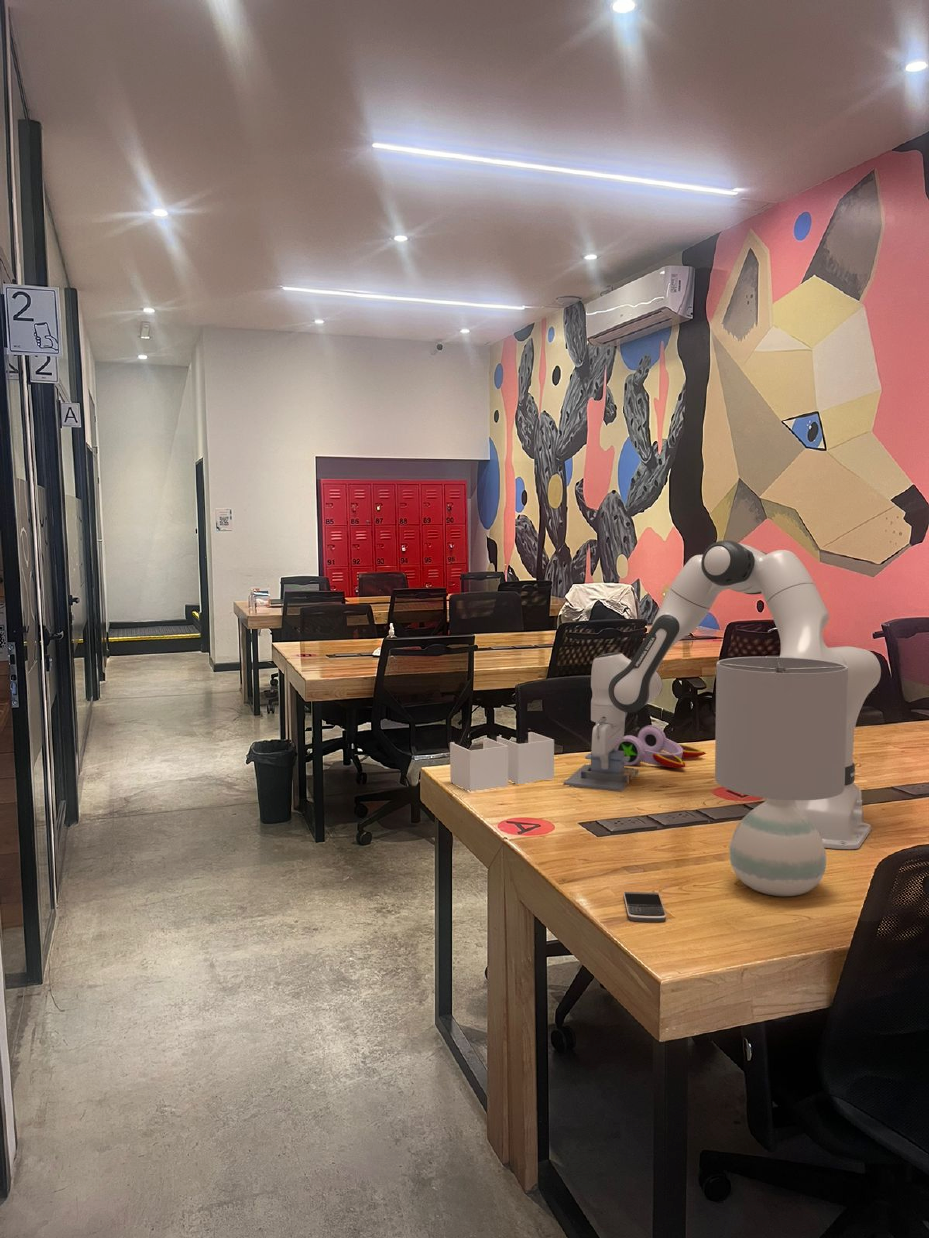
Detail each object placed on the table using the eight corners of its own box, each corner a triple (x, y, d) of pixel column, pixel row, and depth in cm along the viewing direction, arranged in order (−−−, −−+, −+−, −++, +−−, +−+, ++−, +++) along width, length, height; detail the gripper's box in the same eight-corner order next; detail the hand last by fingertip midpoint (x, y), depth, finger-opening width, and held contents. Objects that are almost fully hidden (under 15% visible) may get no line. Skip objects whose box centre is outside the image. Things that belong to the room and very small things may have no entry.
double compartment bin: (470, 794, 219) (470, 751, 218) (450, 783, 228) (450, 742, 227) (554, 780, 230) (554, 739, 229) (531, 771, 240) (531, 731, 239)
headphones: (639, 724, 262) (704, 723, 251) (642, 757, 263) (708, 757, 251) (611, 736, 246) (680, 736, 235) (615, 771, 246) (684, 772, 235)
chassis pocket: (621, 791, 219) (621, 781, 219) (563, 785, 225) (563, 775, 224) (638, 772, 237) (638, 763, 237) (584, 767, 243) (584, 758, 243)
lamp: (832, 870, 165) (838, 658, 161) (850, 918, 144) (857, 675, 140) (713, 860, 170) (716, 655, 167) (713, 905, 150) (717, 671, 146)
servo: (632, 778, 225) (632, 752, 225) (585, 773, 230) (585, 748, 230) (635, 774, 229) (635, 748, 229) (589, 770, 234) (589, 745, 234)
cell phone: (628, 924, 144) (628, 916, 143) (622, 897, 154) (622, 889, 154) (666, 925, 143) (667, 917, 143) (658, 898, 154) (658, 890, 154)
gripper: (610, 722, 218) (610, 776, 219) (628, 708, 237) (628, 758, 238) (585, 720, 221) (585, 774, 222) (605, 706, 239) (605, 756, 240)
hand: (607, 766), depth 230 cm, fingers closed on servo, 4 cm apart
